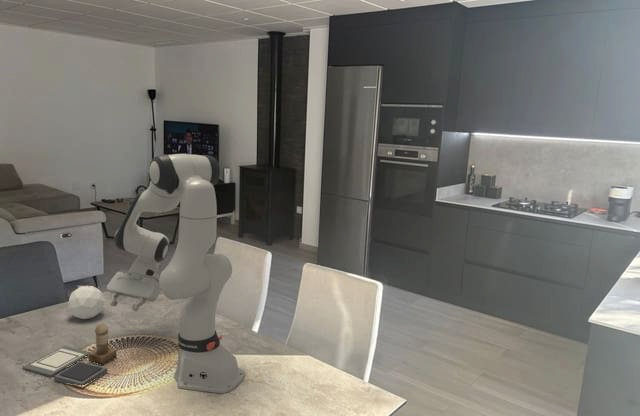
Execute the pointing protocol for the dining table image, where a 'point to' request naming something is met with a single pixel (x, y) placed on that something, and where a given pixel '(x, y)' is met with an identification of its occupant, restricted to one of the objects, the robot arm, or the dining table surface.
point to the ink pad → (80, 373)
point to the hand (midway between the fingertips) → (123, 307)
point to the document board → (56, 361)
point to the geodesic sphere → (86, 302)
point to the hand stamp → (102, 347)
